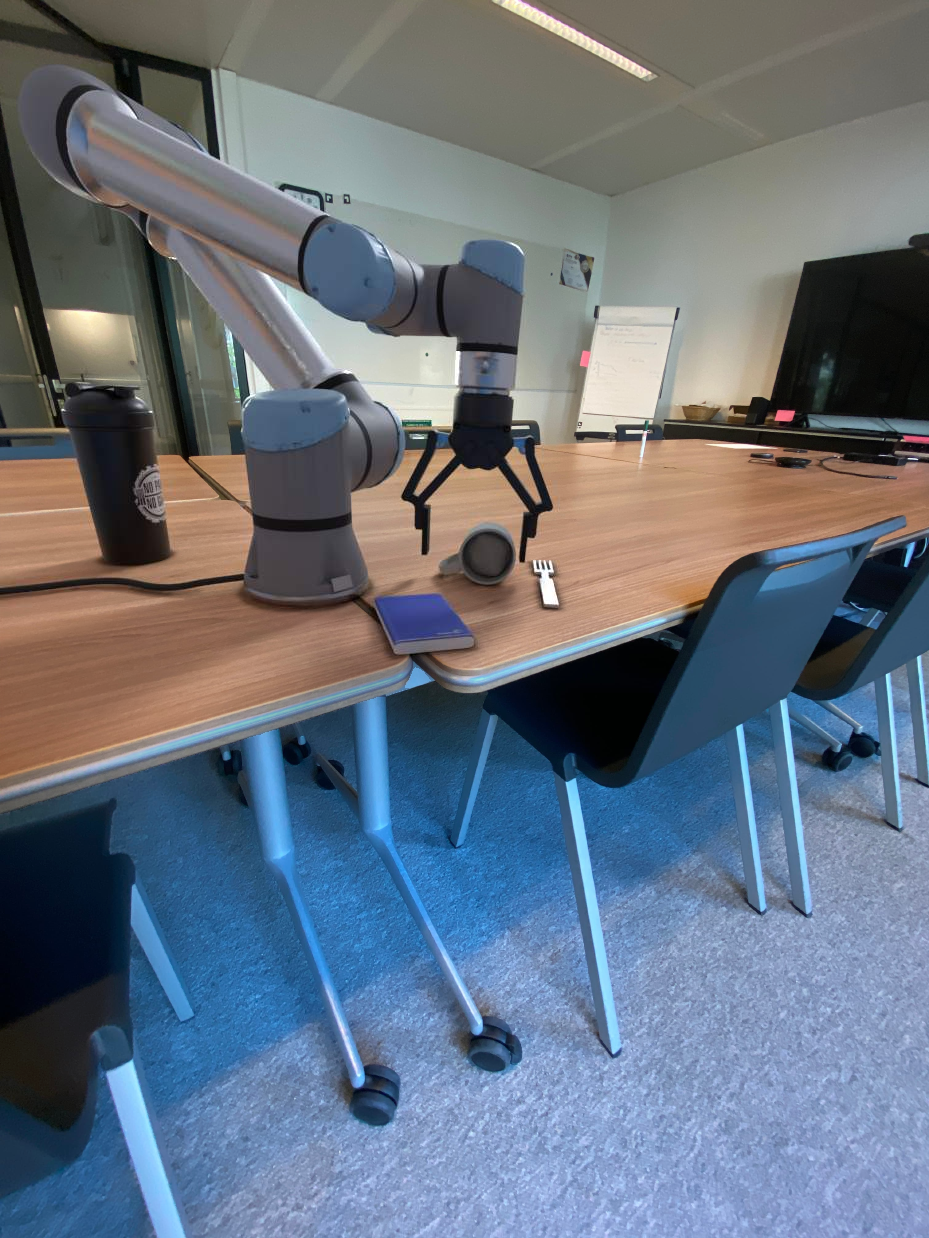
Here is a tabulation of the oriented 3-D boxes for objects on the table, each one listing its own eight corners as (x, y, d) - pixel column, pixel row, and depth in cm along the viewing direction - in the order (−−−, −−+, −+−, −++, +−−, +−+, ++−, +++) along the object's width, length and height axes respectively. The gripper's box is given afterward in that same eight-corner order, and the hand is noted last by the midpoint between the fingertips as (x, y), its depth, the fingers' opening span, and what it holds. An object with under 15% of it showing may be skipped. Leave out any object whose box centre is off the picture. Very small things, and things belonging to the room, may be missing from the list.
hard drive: (474, 633, 54) (441, 592, 64) (394, 640, 51) (373, 596, 62) (473, 647, 54) (441, 604, 65) (394, 655, 52) (374, 609, 63)
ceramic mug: (511, 568, 79) (515, 517, 76) (514, 586, 72) (517, 530, 69) (441, 565, 80) (441, 514, 77) (436, 583, 72) (436, 527, 69)
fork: (539, 607, 66) (540, 603, 65) (532, 562, 83) (532, 559, 83) (562, 608, 65) (562, 604, 65) (550, 563, 83) (550, 560, 83)
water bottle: (154, 568, 72) (118, 384, 63) (79, 565, 72) (32, 380, 63) (190, 548, 82) (163, 386, 73) (124, 545, 82) (89, 382, 73)
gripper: (378, 385, 63) (379, 556, 72) (589, 398, 62) (565, 571, 71) (391, 386, 70) (390, 542, 79) (580, 398, 69) (559, 555, 78)
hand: (473, 556), depth 75 cm, fingers open, 13 cm apart
